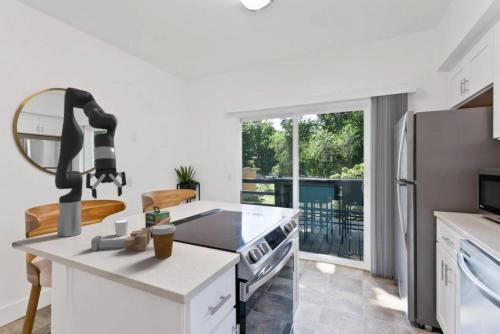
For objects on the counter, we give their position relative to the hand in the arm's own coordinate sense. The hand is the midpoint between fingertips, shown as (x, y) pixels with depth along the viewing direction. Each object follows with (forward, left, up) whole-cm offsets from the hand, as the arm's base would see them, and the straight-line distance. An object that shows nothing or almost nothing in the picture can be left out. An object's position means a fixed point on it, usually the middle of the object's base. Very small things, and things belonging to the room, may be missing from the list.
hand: (107, 197), depth 98 cm
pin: (-1, +7, -23) cm, 24 cm away
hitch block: (+11, +7, -23) cm, 27 cm away
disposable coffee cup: (+23, -8, -24) cm, 34 cm away
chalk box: (+17, +25, -24) cm, 38 cm away
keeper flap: (+20, +7, -15) cm, 26 cm away
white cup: (-1, +28, -24) cm, 37 cm away
